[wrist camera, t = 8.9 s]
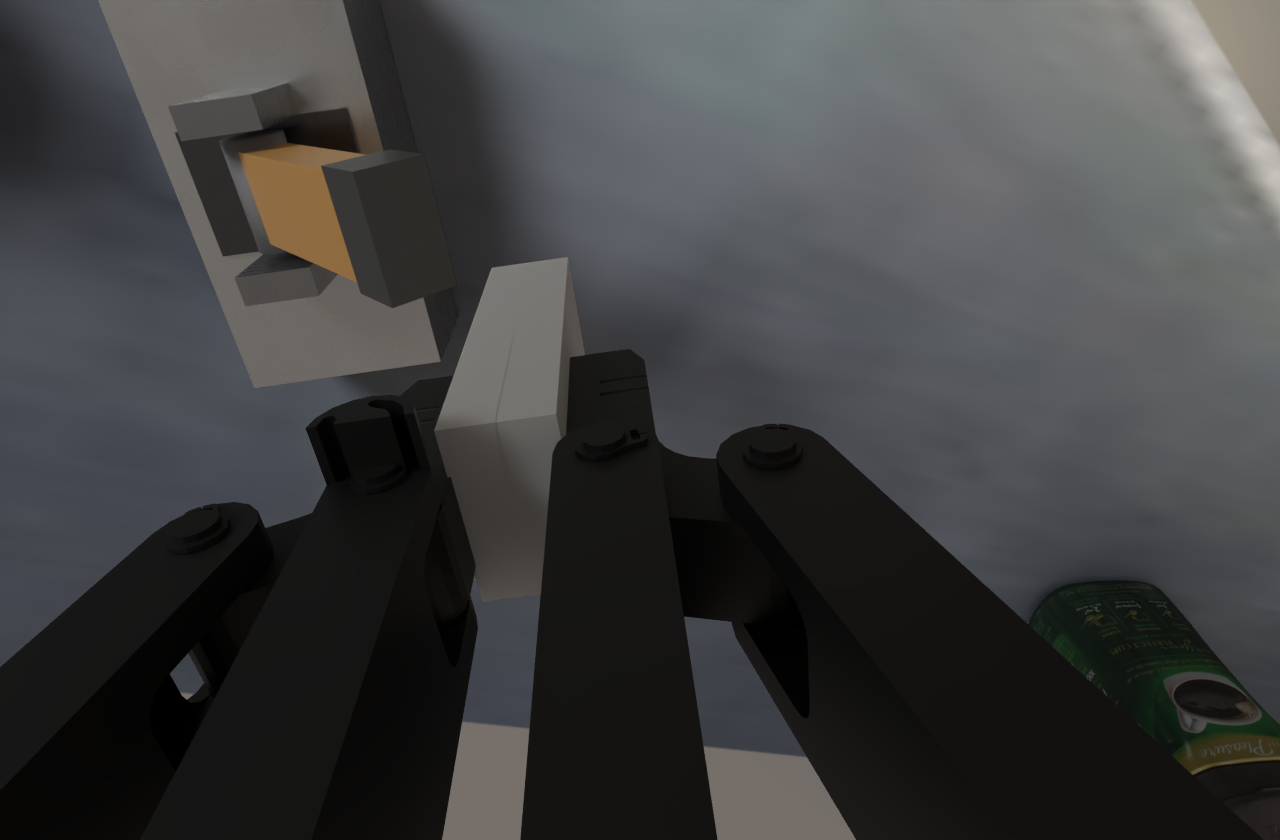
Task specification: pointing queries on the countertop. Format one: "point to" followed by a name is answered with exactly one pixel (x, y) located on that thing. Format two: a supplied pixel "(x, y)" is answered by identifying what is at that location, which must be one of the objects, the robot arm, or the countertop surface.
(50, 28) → the countertop surface
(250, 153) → the lever
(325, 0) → the breaker box
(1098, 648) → the coffee jar
